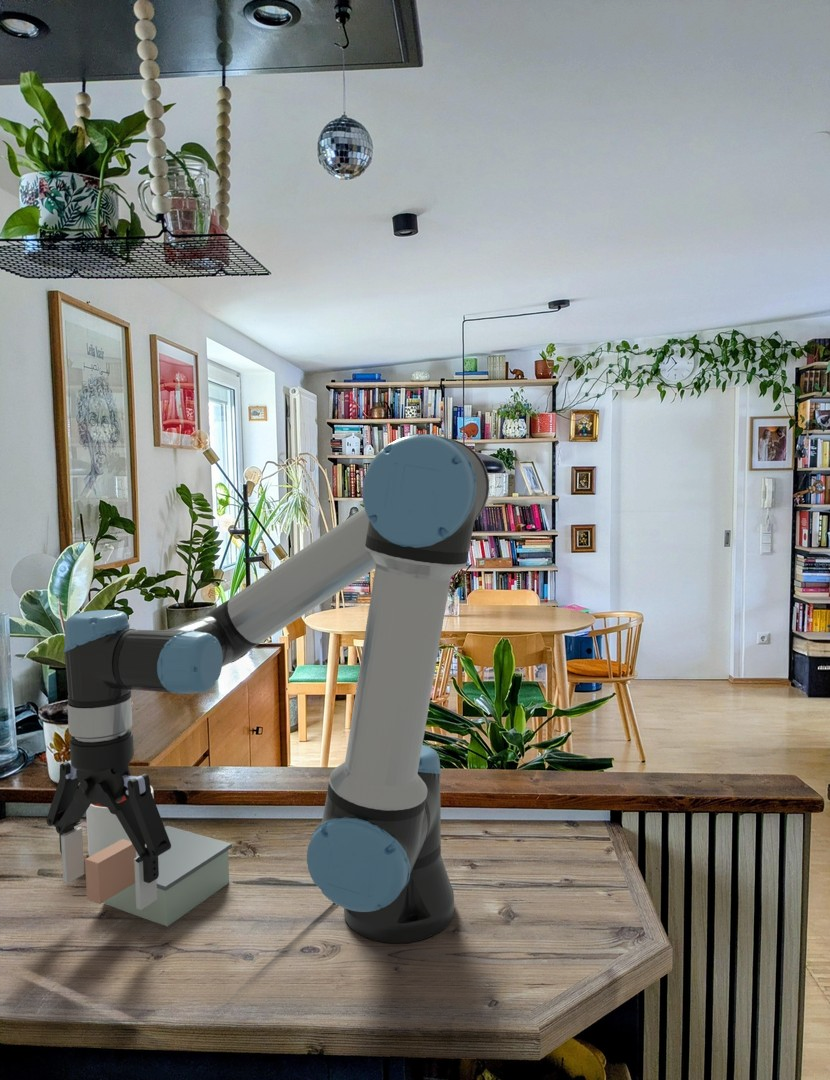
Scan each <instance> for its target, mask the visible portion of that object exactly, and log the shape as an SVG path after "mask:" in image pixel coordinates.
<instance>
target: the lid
mask: <svg viewBox="0 0 830 1080" xmlns="http://www.w3.org/2000/svg"><path fill="white" fill-rule="evenodd" d="M164 827H165V830H166V833H167V835H168V838H169V840H170V843H171V848H170V849H169V850H167V851H166V852H164V853H162V854H161V855H159V856H158V865H159V876H158V878H157V879H156V881H157V888H158V889H161V890H164V891H166V890H168V889H169V888H171V887H173V886H174V885H176V884H177V883H179V882H180V881H182V880H183V879H185V878H186V877H188V876H189V875H191V874H192V873H194V872H196V871H197V870H199V869H200V868H202V867H203V866H205V865H206V864H208V863H209V862H211V861H212V860H214V859H215V858H217V857H218V856H220V855H222V854H223V853H225V852H226V851H228V852H229V850H231V849H232V848H233V843H231V842H227V841H224V840H220V839H216V838H213V837H209V836H205V835H202V834H198V833H194V832H192V831H187V830H184V829H180V828H177V827H173V826H170V825H165V826H164ZM145 847H147V846H146V844H145ZM138 856H139V855H138V853H137V851H136V850H135V848H134V846H133V844H132V842H131V841H128V840H125V839H121V840H120V841H118V842H116V843H114V844H112V845H110V846H108V847H107V848H105V849H103V850H101V851H99V852H97V853H95V854H94V855H92V856H90V857H89V856H88V857H86V858H84V872H85V884H86V885H85V888H86V900H87V901H89V902H93V903H94V904H95V903H96V904H98V905H101V904H102V903H103V904H104V901H106V900H108V899H109V898H111V897H113V896H114V895H116V894H118V893H119V892H121V891H122V890H124V889H126V888H127V887H129V886H131V885H132V884H134V883H135V866H134V858H136V857H138Z"/></svg>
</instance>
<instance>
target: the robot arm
mask: <svg viewBox="0 0 830 1080" xmlns="http://www.w3.org/2000/svg"><path fill="white" fill-rule="evenodd" d="M361 492H362V493H361V495H362V504H363V508H361V509H360V510H358V511H357V512H355V513H353V514H352V515H351V516H349V517H348V518H346V519H345V520H343V521H342V522H341V523H339V524H337V525H336V526H334V527H333V528H332V529H330V530H329V531H328V532H326V533H324V534H323V535H321V536H320V537H319V538H317V539H316V540H314V541H313V542H311V543H310V544H308V545H307V546H306V547H303V549H300V551H298V552H296V553H295V554H293V555H292V556H291V557H289V558H287V559H286V560H285V561H283V562H282V563H280V564H279V565H277V566H276V567H274V568H273V569H271V570H270V571H268V572H267V573H266V574H264V575H263V576H261V577H260V578H258V579H257V580H255V581H253V582H252V583H250V585H248V586H246V587H245V588H244V589H242V590H240V591H239V592H238V593H236V594H234V595H233V596H232V597H230V598H229V599H228V600H226V601H224V602H223V603H221V604H220V605H218V606H216V607H215V608H214V609H212V610H211V611H210V612H207V613H206V614H204V615H202V616H200V617H198V618H196V619H192V620H190V621H187V622H184V623H181V624H179V625H176V626H173V627H171V628H167V629H159V630H158V629H157V630H156V629H153V630H152V629H151V630H150V629H136V628H130V623H129V617H128V615H127V613H126V612H124V611H121V610H115V609H98V610H89V611H81V612H78V613H75V614H73V615H71V616H70V617H68V618H67V619H66V621H65V624H64V648H63V653H64V661H65V662H64V664H65V672H66V683H67V694H68V695H67V722H68V723H67V725H68V733H69V735H71V738H70V739H69V753H70V760H68V761H65V762H63V763H60V765H59V779H58V782H57V786H56V789H55V792H54V795H53V798H52V801H51V804H50V807H49V810H48V813H47V818H46V821H45V822H46V824H47V825H48V826H49V827H51V826H54V827H55V830H56V833H58V835H59V837H58V838H59V851H60V853H61V863H62V864H61V865H62V880H63V881H62V882H63V883H65V884H69V883H71V882H73V881H75V880H76V879H78V878H80V877H81V876H83V875H85V858H84V844H83V843H84V842H83V827H80V826H79V825H80V824H82V822H81V819H82V817H84V815H85V814H86V810H87V809H88V807H89V806H90V804H91V803H93V804H100V805H101V806H103V807H108V809H109V811H110V813H112V814H115V815H116V816H117V818H118V820H119V821H120V823H121V825H122V827H123V828H124V830H125V832H126V834H127V835H128V837H129V839H130V841H131V842H132V844H133V846H134V848H135V850H136V851H137V853H138V855H139V856H138V857H136V858H134V866H135V889H136V909H139V910H142V909H143V908H145V907H146V906H148V905H149V904H151V903H152V902H154V901H155V900H157V881H156V879H157V878H158V876H159V865H158V856H159V855H161V854H162V853H164V852H166V851H167V850H169V849H170V848H171V843H170V840H169V838H168V835H167V833H166V830H165V827H166V826H165V825H164V823H163V820H162V817H161V814H160V812H159V809H158V807H157V803H156V801H155V799H154V798H155V797H154V798H153V796H152V793H151V789H150V786H151V784H150V783H151V782H150V777H149V774H147V773H142V774H140V775H138V776H137V775H132V774H131V772H130V769H129V765H130V763H131V761H132V760H133V758H134V754H135V749H134V731H133V730H132V729H131V727H132V726H133V712H132V711H133V709H132V691H134V690H135V691H145V692H146V691H147V692H157V693H158V692H159V693H172V694H175V695H187V694H203V693H206V692H208V691H210V690H211V689H213V687H215V685H216V681H217V680H218V679H220V675H221V673H222V669H223V667H225V666H227V665H229V664H233V663H235V662H236V661H238V660H240V659H242V658H244V657H245V656H247V654H248V653H249V652H250V651H251V650H252V649H254V648H255V647H257V646H259V645H260V644H261V643H263V642H264V641H266V640H267V639H268V638H270V637H271V636H273V635H276V634H277V633H278V632H279V631H281V630H283V629H284V628H286V627H287V626H289V625H290V624H292V623H293V622H295V621H296V620H298V619H300V618H301V617H303V616H304V615H306V614H307V613H309V612H311V611H312V610H313V609H315V608H317V607H318V606H319V605H321V604H323V603H325V602H326V601H327V600H329V599H330V598H332V597H334V596H335V595H336V594H338V593H339V592H341V591H343V590H344V589H346V588H347V587H349V586H350V585H352V584H354V583H355V582H357V581H358V580H360V579H361V578H363V577H364V576H366V575H368V574H369V573H370V572H372V571H373V570H374V573H373V574H374V575H373V581H372V587H371V594H370V600H369V606H368V613H367V619H366V625H365V632H364V637H363V645H362V651H361V658H360V665H359V671H358V676H357V684H356V689H355V690H356V691H355V695H354V696H355V697H354V703H353V708H352V715H351V721H350V728H349V735H348V741H347V746H346V747H347V748H346V754H345V761H344V762H342V763H341V764H340V765H338V766H337V767H335V768H334V769H332V771H331V772H330V775H329V779H328V784H327V785H328V786H327V791H326V797H325V801H324V802H325V803H324V810H323V816H322V819H321V823H320V824H319V825H318V826H317V827H316V828H315V829H314V831H313V833H312V835H311V837H310V839H309V840H310V841H309V843H308V846H307V850H306V851H307V852H306V864H307V869H308V873H309V875H310V877H311V879H312V882H313V883H314V885H315V886H318V889H320V890H321V893H322V895H323V896H325V898H327V899H328V900H329V901H331V902H332V903H333V904H335V905H336V906H338V907H340V908H343V914H344V919H345V921H346V923H347V925H348V926H349V927H350V928H351V930H353V931H354V932H356V933H357V934H358V935H360V936H363V937H364V938H367V939H369V940H373V941H377V942H381V943H382V942H383V943H389V944H391V943H392V944H393V943H394V944H401V943H402V944H403V943H412V942H417V941H418V942H419V941H421V940H424V939H428V938H430V937H432V936H434V935H436V934H438V933H440V932H442V931H443V930H444V929H445V928H446V927H447V926H448V925H450V923H451V921H452V920H453V917H454V914H455V894H454V889H453V887H452V883H451V881H450V877H449V875H448V872H447V868H446V866H445V863H444V860H443V857H442V852H441V851H442V846H441V844H442V842H441V841H442V839H441V837H442V833H441V830H442V829H441V828H442V827H441V823H442V822H441V820H442V819H441V814H442V813H441V811H442V810H441V775H442V772H443V771H442V769H441V763H440V756H439V753H438V752H437V751H436V750H435V749H434V748H432V747H430V746H427V745H425V744H423V742H424V738H425V730H426V725H427V721H428V714H429V708H430V702H431V696H432V691H433V690H432V689H433V684H434V679H435V673H436V666H437V662H438V661H437V660H438V655H439V649H440V644H441V643H440V642H441V638H442V630H443V625H444V619H445V614H446V607H447V601H448V596H449V590H450V584H451V578H452V577H453V576H454V575H455V574H456V573H458V572H459V571H461V570H462V569H463V568H464V567H466V566H467V564H468V559H469V558H468V557H469V551H470V547H471V543H472V537H473V530H474V525H475V521H476V520H477V519H478V518H479V516H480V515H481V514H482V513H483V511H484V509H485V506H486V504H487V501H488V499H489V493H490V477H489V474H488V470H487V468H486V465H485V463H484V462H483V460H482V457H480V455H478V453H477V452H476V451H475V450H474V449H472V448H471V447H470V446H468V445H467V444H466V443H463V442H461V441H458V440H456V439H452V438H451V439H450V438H447V437H445V436H440V435H437V434H434V433H431V434H427V433H426V434H425V433H417V434H411V435H407V436H404V437H401V438H398V439H396V440H394V441H392V442H391V443H389V444H387V445H386V446H385V447H383V448H382V449H381V450H380V451H379V452H378V453H377V454H376V455H375V456H374V458H373V459H372V460H371V462H370V464H369V466H368V468H367V469H366V473H365V475H364V479H363V483H362V491H361ZM124 796H125V798H126V800H125V801H122V802H120V801H121V800H122V799H123V797H124ZM118 802H120V803H118ZM77 826H78V827H77ZM145 844H146V846H147V847H145Z"/></svg>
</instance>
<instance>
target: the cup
mask: <svg viewBox="0 0 830 1080" xmlns="http://www.w3.org/2000/svg"><path fill="white" fill-rule="evenodd" d="M150 789H151V793H152V796H153V798H155V797H154V788H153V786H152V785H150ZM125 800H126V798H125V796H124V797H123V799H122V800H121V801H120V802H122V801H125ZM120 802H118V803H120ZM85 817H86V832H87V833H86V834H87V852H88V853H87V854H88V857H90V856H92V855H94V854H95V853H97V852H99V851H101V850H103V849H105V848H107V847H108V846H110V845H112V844H114V843H116V842H118V841H120V840H121V839H125V840H128V841H130V839H129V837H128V835H127V834H126V832H125V830H124V828H123V827H122V825H121V823H120V821H119V820H118V818H117V816H116V815H115V814H112V813H110V811H109V809H108V807H103V806H101V805H100V804H93V803H91V804H90V806H89V807H88V809H87V810H86V812H85Z"/></svg>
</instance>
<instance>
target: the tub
mask: <svg viewBox="0 0 830 1080" xmlns="http://www.w3.org/2000/svg"><path fill="white" fill-rule="evenodd" d="M229 865H230V864H229V850H228V851H226V852H225V853H223V854H222V855H220V856H218V857H217V858H215V859H214V860H212V861H211V862H209V863H208V864H206V865H205V866H203V867H202V868H200V869H199V870H197V871H196V872H194V873H192V874H191V875H189V876H188V877H186V878H185V879H183V880H182V881H180V882H179V883H177V884H176V885H174V886H173V887H171V888H169V889H168V890H166V891H164V890H161V889H158V888H157V900H155V901H154V902H152V903H151V904H149V905H148V906H146V907H145V908H143V909H142V910H139V909H136V889H135V883H134V884H132V885H131V886H129V887H127V888H126V889H124V890H122V891H121V892H119V893H118V894H116V895H114V896H113V897H111V898H109V899H108V900H106V901H104V902H103V904H104V905H107V906H109V907H111V908H115V909H118V910H119V911H123V912H125V913H128V914H131V915H133V916H136V917H139V918H142V919H145V920H147V921H150V922H153V923H156V924H158V925H162V926H164V927H169V926H171V925H172V924H173V923H175V922H177V920H179V919H181V918H182V917H184V916H185V915H186V914H187V913H189V912H190V911H191V910H193V909H195V908H196V907H197V906H199V905H200V904H202V903H203V902H205V901H206V900H207V899H209V898H210V897H211V896H213V895H214V894H216V893H217V892H218V891H220V890H221V889H223V888H224V887H226V886H228V885H229V884H230V868H229Z"/></svg>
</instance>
